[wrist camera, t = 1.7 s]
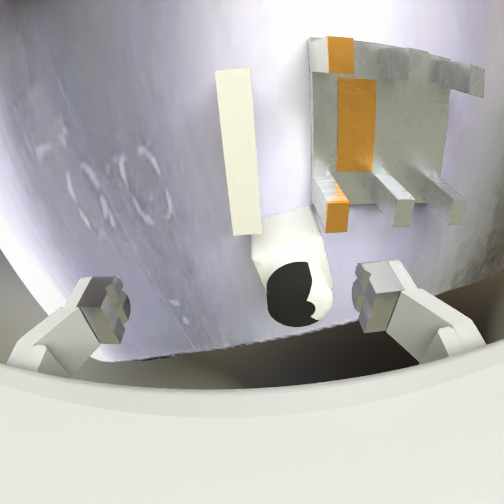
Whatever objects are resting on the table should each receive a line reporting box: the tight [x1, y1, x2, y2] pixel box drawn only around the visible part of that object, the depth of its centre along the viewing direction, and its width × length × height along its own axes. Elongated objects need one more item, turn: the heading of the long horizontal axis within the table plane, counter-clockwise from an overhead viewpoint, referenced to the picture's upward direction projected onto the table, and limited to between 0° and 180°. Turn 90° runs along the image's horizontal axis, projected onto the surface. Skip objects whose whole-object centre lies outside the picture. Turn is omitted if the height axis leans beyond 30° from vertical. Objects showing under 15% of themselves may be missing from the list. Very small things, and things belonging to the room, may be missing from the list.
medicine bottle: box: [251, 206, 333, 327], centre depth 31 cm, size 7×7×12 cm
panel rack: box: [308, 36, 485, 233], centre depth 24 cm, size 16×18×8 cm
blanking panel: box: [215, 68, 262, 236], centre depth 25 cm, size 2×14×8 cm, turn 4°
